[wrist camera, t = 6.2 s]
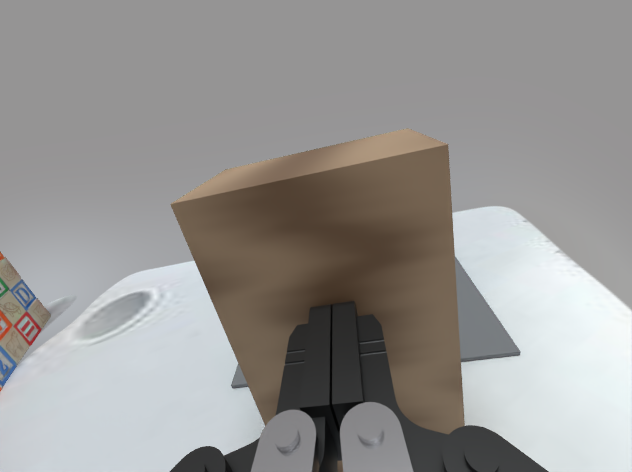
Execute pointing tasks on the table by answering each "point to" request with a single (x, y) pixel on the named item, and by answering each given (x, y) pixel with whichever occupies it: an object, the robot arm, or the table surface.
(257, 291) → the walnut block
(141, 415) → the table surface
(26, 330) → the stack of blocks
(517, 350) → the mat
